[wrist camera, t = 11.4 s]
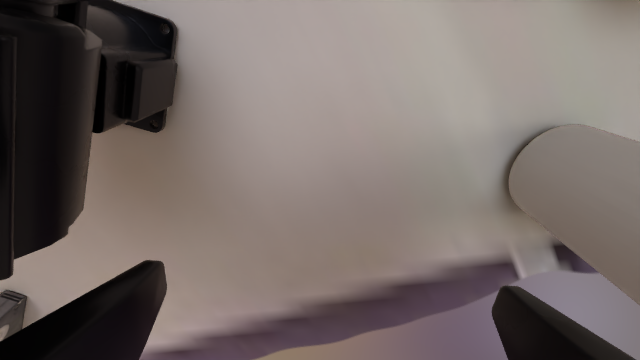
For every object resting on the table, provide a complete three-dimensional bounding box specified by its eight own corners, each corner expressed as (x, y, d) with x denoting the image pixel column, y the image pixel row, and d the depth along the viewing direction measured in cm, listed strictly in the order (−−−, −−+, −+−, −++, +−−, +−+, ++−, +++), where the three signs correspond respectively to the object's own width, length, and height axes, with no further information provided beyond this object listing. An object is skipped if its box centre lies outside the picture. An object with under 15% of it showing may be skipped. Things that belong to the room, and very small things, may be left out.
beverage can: (520, 117, 20) (777, 211, 9) (619, 125, 20) (989, 227, 9) (490, 207, 22) (659, 368, 11) (578, 213, 23) (827, 377, 12)
